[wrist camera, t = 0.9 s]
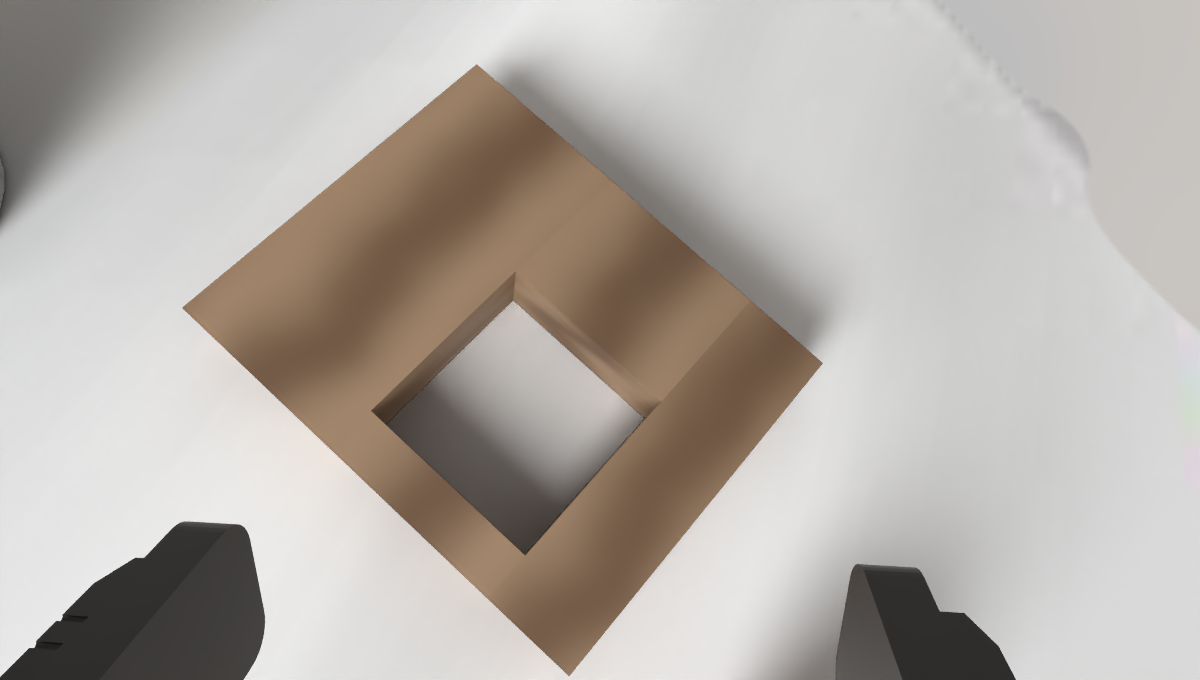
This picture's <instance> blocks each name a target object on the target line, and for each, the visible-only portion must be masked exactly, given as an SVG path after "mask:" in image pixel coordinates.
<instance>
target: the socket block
mask: <svg viewBox="0 0 1200 680" xmlns="http://www.w3.org/2000/svg"><path fill="white" fill-rule="evenodd" d="M512 301H515V302H516V303H517V304H518V305H519V306H520V307H521V308H522V309H524V310H525V311H526V312H527V313H528V314H529V315H530V316H531V317H532V318H534V319H535V320H536V321H537V322H538V323H539V324H540V325H541V326H542V327H544V328H545V329H546V330H547V331H548V332H549V333H550V334H551V335H552V336H554V337H555V338H556V339H557V340H558V341H559V342H560V343H561V344H562V345H564V346H565V347H566V348H567V349H568V350H569V351H570V352H571V353H573V354H574V355H575V356H576V357H577V358H578V359H579V360H580V361H581V362H583V363H584V364H585V365H586V366H587V367H588V368H589V369H590V370H591V371H593V372H594V373H595V374H596V375H597V376H598V377H599V378H600V379H601V380H603V381H604V382H605V383H606V384H607V385H608V386H609V387H610V388H611V389H613V390H614V391H615V392H616V393H617V394H618V395H619V396H620V397H622V398H623V399H624V400H625V401H626V402H627V403H628V404H629V405H630V406H632V407H633V408H634V409H635V410H636V411H637V412H638V413H639V414H640V415H642V416H643V417H644V418H645V419H644V420H643V421H642V422H641V423H640V424H639V426H638V427H637V428H636V429H635V430H634V431H633V432H632V433H631V435H630V436H629V437H628V438H627V439H626V440H625V441H624V442H623V444H622V445H621V446H620V447H619V448H618V449H617V450H616V452H615V453H614V454H613V455H612V456H611V457H610V458H609V459H608V461H607V462H606V463H605V464H604V465H603V466H602V467H601V469H600V470H599V471H598V472H597V473H596V474H595V475H594V476H593V478H592V479H591V480H590V481H589V482H588V483H587V484H586V486H585V487H584V488H583V489H582V490H581V491H580V492H579V493H578V495H577V496H576V497H575V498H574V499H573V500H572V501H571V502H570V504H569V505H568V506H567V507H566V508H565V509H564V510H563V512H562V513H561V514H560V515H559V516H558V517H557V518H556V519H555V521H554V522H553V523H552V524H551V525H550V526H549V527H548V529H547V530H546V531H545V532H544V533H543V534H542V535H541V536H540V538H539V539H538V540H537V541H536V542H535V543H534V544H533V545H532V547H531V548H530V549H529V550H528V551H527V552H526V553H525V555H524V554H523V553H522V552H521V551H520V550H519V549H518V548H517V547H515V546H514V545H513V544H512V543H511V542H510V541H509V540H508V539H507V538H506V537H505V536H504V535H503V534H502V533H501V532H499V531H498V530H497V529H496V528H495V527H494V526H493V525H492V524H491V523H490V522H489V521H488V520H487V519H486V518H485V517H483V516H482V515H481V514H480V513H479V512H478V511H477V510H476V509H475V508H474V507H473V506H472V505H471V504H470V503H469V502H468V501H466V500H465V499H464V498H463V497H462V496H461V495H460V494H459V493H458V492H457V491H456V490H455V489H454V488H453V487H452V486H450V485H449V484H448V483H447V482H446V481H445V480H444V479H443V478H442V477H441V476H440V475H439V474H438V473H437V472H436V471H434V470H433V469H432V468H431V467H430V466H429V465H428V464H427V463H426V462H425V461H424V460H423V459H422V458H421V457H420V456H419V455H417V454H416V453H415V452H414V451H413V450H412V449H411V448H410V447H409V446H408V445H407V444H406V443H405V442H404V441H403V440H401V439H400V438H399V437H398V436H397V435H396V434H395V433H394V432H393V431H392V430H391V429H390V428H389V427H388V426H387V425H386V424H387V423H388V422H389V421H390V420H391V419H392V418H393V417H394V416H395V415H396V414H397V413H398V412H399V411H400V410H401V409H402V408H403V407H404V406H405V405H406V404H407V403H408V402H409V401H410V400H411V399H412V398H413V397H414V396H415V395H416V394H418V393H419V392H420V391H421V390H422V389H423V388H424V387H425V386H426V385H427V384H428V383H429V382H430V381H431V380H432V379H433V378H434V377H435V376H436V375H437V374H438V373H439V372H440V371H441V370H442V369H443V368H444V367H445V366H446V365H447V364H448V363H449V362H450V361H451V360H452V359H453V358H454V357H455V356H456V355H457V354H458V353H459V352H460V351H461V350H462V349H464V348H465V347H466V346H467V345H468V344H469V343H470V342H471V341H472V340H473V339H474V338H475V337H476V336H477V335H478V334H479V333H480V332H481V331H482V330H483V329H484V328H485V327H486V326H487V325H488V324H489V323H490V322H491V321H492V320H493V319H494V318H495V317H496V316H497V315H498V314H499V313H500V312H501V311H502V310H503V309H504V308H505V307H506V306H507V305H508V304H509V303H511V302H512ZM183 309H184V310H185V311H186V312H187V313H188V314H189V315H190V316H191V317H192V318H193V319H194V320H195V321H196V322H198V323H199V324H200V325H201V326H202V327H203V328H204V329H205V330H206V331H207V332H208V333H209V334H210V335H211V336H212V337H213V338H214V339H215V340H216V341H217V342H219V343H220V344H221V345H222V346H223V347H224V348H225V349H226V350H227V351H228V352H229V353H230V354H231V355H232V356H233V357H234V358H235V359H236V360H237V361H239V362H240V363H241V364H242V365H243V366H244V367H245V368H246V369H247V370H248V371H249V372H250V373H251V374H252V375H253V376H254V377H255V378H256V379H257V380H258V381H260V382H261V383H262V384H263V385H264V386H265V387H266V388H267V389H268V390H269V391H270V392H271V393H272V394H273V395H274V396H275V397H276V398H277V399H278V400H279V401H281V402H282V403H283V404H284V405H285V406H286V407H287V408H288V409H289V410H290V411H291V412H292V413H293V414H294V415H295V416H296V417H297V418H298V419H299V420H300V421H302V422H303V423H304V424H305V425H306V426H307V427H308V428H309V429H310V430H311V431H312V432H313V433H314V434H315V435H316V436H317V437H318V438H319V439H320V440H321V441H323V442H324V443H325V444H326V445H327V446H328V447H329V448H330V449H331V450H332V451H333V452H334V453H335V454H336V455H337V456H338V457H339V458H340V459H341V460H343V461H344V462H345V463H346V464H347V465H348V466H349V467H350V468H351V469H352V470H353V471H354V472H355V473H356V474H357V475H358V476H359V477H360V478H361V479H362V480H364V481H365V482H366V483H367V484H368V485H369V486H370V487H371V488H372V489H373V490H374V491H375V492H376V493H377V494H378V495H379V496H380V497H381V498H382V499H383V500H385V501H386V502H387V503H388V504H389V505H390V506H391V507H392V508H393V509H394V510H395V511H396V512H397V513H398V514H399V515H400V516H401V517H402V518H403V519H404V520H406V521H407V522H408V523H409V524H410V525H411V526H412V527H413V528H414V529H415V530H416V531H417V532H418V533H419V534H420V535H421V536H422V537H423V538H424V539H425V540H427V541H428V542H429V543H430V544H431V545H432V546H433V547H434V548H435V549H436V550H437V551H438V552H439V553H440V554H441V555H442V556H443V557H444V558H445V559H446V560H448V561H449V562H450V563H451V564H452V565H453V566H454V567H455V568H456V569H457V570H458V571H459V572H460V573H461V574H462V575H463V576H464V577H465V578H466V579H468V580H469V581H470V582H471V583H472V584H473V585H474V586H475V587H476V588H477V589H478V590H479V591H480V592H481V593H482V594H483V595H484V596H485V597H486V598H487V599H489V600H490V601H491V602H492V603H493V604H494V605H495V606H496V607H497V608H498V609H499V610H500V611H501V612H502V613H503V614H504V615H505V616H506V617H507V618H508V619H510V620H511V621H512V622H513V623H514V624H515V625H516V626H517V627H518V628H519V629H520V630H521V631H522V632H523V633H524V634H525V635H526V636H527V637H528V638H529V639H531V640H532V641H533V642H534V643H535V644H536V645H537V646H538V647H539V648H540V649H541V650H542V651H543V652H544V653H545V654H546V655H547V656H548V657H549V658H550V659H552V660H553V661H554V662H555V663H556V664H557V665H558V666H559V667H560V668H561V669H562V670H563V671H564V672H565V673H566V674H567V675H568V676H570V675H571V673H572V672H573V671H574V670H575V668H576V667H577V666H578V665H579V663H580V662H581V661H582V660H583V658H584V657H585V656H586V655H587V654H588V652H589V651H590V650H591V649H592V647H593V646H594V645H595V644H596V642H597V641H598V640H599V639H600V637H601V636H602V635H603V634H604V633H605V631H606V630H607V629H608V628H609V626H610V625H611V624H612V623H613V621H614V620H615V619H616V618H617V617H618V615H619V614H620V613H621V612H622V610H623V609H624V608H625V607H626V605H627V604H628V603H629V602H630V600H631V599H632V598H633V597H634V596H635V594H636V593H637V592H638V591H639V589H640V588H641V587H642V586H643V584H644V583H645V582H646V581H647V579H648V578H649V577H650V576H651V575H652V573H653V572H654V571H655V570H656V568H657V567H658V566H659V565H660V563H661V562H662V561H663V560H664V559H665V557H666V556H667V555H668V554H669V552H670V551H671V550H672V549H673V547H674V546H675V545H676V544H677V542H678V541H679V540H680V539H681V538H682V536H683V535H684V534H685V533H686V531H687V530H688V529H689V528H690V526H691V525H692V524H693V523H694V521H695V520H696V519H697V518H698V517H699V515H700V514H701V513H702V512H703V510H704V509H705V508H706V507H707V505H708V504H709V503H710V502H711V501H712V499H713V498H714V497H715V496H716V494H717V493H718V492H719V491H720V489H721V488H722V487H723V486H724V484H725V483H726V482H727V481H728V480H729V478H730V477H731V476H732V475H733V473H734V472H735V471H736V470H737V468H738V467H739V466H740V465H741V463H742V462H743V461H744V460H745V459H746V457H747V456H748V455H749V454H750V452H751V451H752V450H753V449H754V447H755V446H756V445H757V444H758V443H759V441H760V440H761V439H762V438H763V436H764V435H765V434H766V433H767V431H768V430H769V429H770V428H771V426H772V425H773V424H774V423H775V422H776V420H777V419H778V418H779V417H780V415H781V414H782V413H783V412H784V410H785V409H786V408H787V407H788V405H789V404H790V403H791V402H792V401H793V399H794V398H795V397H796V396H797V394H798V393H799V392H800V391H801V389H802V388H803V387H804V386H805V385H806V383H807V382H808V381H809V380H810V378H811V377H812V376H813V375H814V373H815V372H816V371H817V370H818V368H819V367H820V366H821V365H822V364H823V363H822V362H821V361H820V360H819V359H817V358H816V357H815V356H814V355H813V354H812V353H810V352H809V351H808V350H807V349H806V348H805V347H804V346H802V345H801V344H800V343H799V342H798V341H797V340H795V339H794V338H793V337H792V336H791V335H790V334H788V333H787V332H786V331H785V330H784V329H783V328H782V327H780V326H779V325H778V324H777V323H776V322H775V321H773V320H772V319H771V318H770V317H769V316H768V315H766V314H765V313H764V312H763V311H762V310H761V309H760V308H758V307H757V306H756V305H755V304H754V303H753V302H751V301H750V300H749V299H748V298H747V297H746V296H744V295H743V294H742V293H741V292H740V291H739V290H738V289H736V288H735V287H734V286H733V285H732V284H731V283H729V282H728V281H727V280H726V279H725V278H724V277H722V276H721V275H720V274H719V273H718V272H717V271H716V270H714V269H713V268H712V267H711V266H710V265H709V264H707V263H706V262H705V261H704V260H703V259H702V258H700V257H699V256H698V255H697V254H696V253H695V252H694V251H692V250H691V249H690V248H689V247H688V246H687V245H685V244H684V243H683V242H682V241H681V240H680V239H678V238H677V237H676V236H675V235H674V234H673V233H672V232H670V231H669V230H668V229H667V228H666V227H665V226H663V225H662V224H661V223H660V222H659V221H658V220H656V219H655V218H654V217H653V216H652V215H651V214H650V213H648V212H647V211H646V210H645V209H644V208H643V207H641V206H640V205H639V204H638V203H637V202H636V201H634V200H633V199H632V198H631V197H630V196H629V195H628V194H626V193H625V192H624V191H623V190H622V189H621V188H619V187H618V186H617V185H616V184H615V183H614V182H612V181H611V180H610V179H609V178H608V177H607V176H605V175H604V174H603V173H602V172H601V171H600V170H599V169H597V168H596V167H595V166H594V165H593V164H592V163H590V162H589V161H588V160H587V159H586V158H585V157H583V156H582V155H581V154H580V153H579V152H578V151H577V150H575V149H574V148H573V147H572V146H571V145H570V144H568V143H567V142H566V141H565V140H564V139H563V138H561V137H560V136H559V135H558V134H557V133H556V132H555V131H553V130H552V129H551V128H550V127H549V126H548V125H546V124H545V123H544V122H543V121H542V120H541V119H539V118H538V117H537V116H536V115H535V114H534V113H533V112H531V111H530V110H529V109H528V108H527V107H526V106H524V105H523V104H522V103H521V102H520V101H519V100H517V99H516V98H515V97H514V96H513V95H512V94H511V93H509V92H508V91H507V90H506V89H505V88H504V87H502V86H501V85H500V84H499V83H498V82H497V81H495V80H494V79H493V78H492V77H491V76H490V75H489V74H487V73H486V72H485V71H484V70H483V69H482V68H480V67H479V66H478V65H475V66H474V67H473V68H472V69H471V70H469V71H468V72H467V73H466V74H465V75H463V76H462V77H461V78H460V79H459V80H457V81H456V82H455V83H454V84H452V85H451V86H450V87H449V88H448V89H446V90H445V91H444V92H443V93H442V94H440V95H439V96H438V97H437V98H436V99H434V100H433V101H432V102H431V103H429V104H428V105H427V106H426V107H425V108H423V109H422V110H421V111H420V112H419V113H417V114H416V115H415V116H414V117H413V118H411V119H410V120H409V121H408V122H406V123H405V124H404V125H403V126H402V127H400V128H399V129H398V130H397V131H396V132H394V133H393V134H392V135H391V136H390V137H388V138H387V139H386V140H385V141H383V142H382V143H381V144H380V145H379V146H377V147H376V148H375V149H374V150H373V151H371V152H370V153H369V154H368V155H367V156H365V157H364V158H363V159H362V160H360V161H359V162H358V163H357V164H356V165H354V166H353V167H352V168H351V169H350V170H348V171H347V172H346V173H345V174H344V175H342V176H341V177H340V178H339V179H337V180H336V181H335V182H334V183H333V184H331V185H330V186H329V187H328V188H327V189H325V190H324V191H323V192H322V193H321V194H319V195H318V196H317V197H316V198H314V199H313V200H312V201H311V202H310V203H308V204H307V205H306V206H305V207H304V208H302V209H301V210H300V211H299V212H298V213H296V214H295V215H294V216H293V217H291V218H290V219H289V220H288V221H287V222H285V223H284V224H283V225H282V226H281V227H279V228H278V229H277V230H276V231H275V232H273V233H272V234H271V235H270V236H268V237H267V238H266V239H265V240H264V241H262V242H261V243H260V244H259V245H258V246H256V247H255V248H254V249H253V250H252V251H250V252H249V253H248V254H247V255H245V256H244V257H243V258H242V259H241V260H239V261H238V262H237V263H236V264H235V265H233V266H232V267H231V268H230V269H229V270H227V271H226V272H225V273H224V274H222V275H221V276H220V277H219V278H218V279H216V280H215V281H214V282H213V283H212V284H210V285H209V286H208V287H207V288H206V289H204V290H203V291H202V292H201V293H199V294H198V295H197V296H196V297H195V298H193V299H192V300H191V301H190V302H189V303H187V304H186V305H185V306H184V307H183Z"/></svg>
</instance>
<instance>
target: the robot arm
mask: <svg viewBox="0 0 1200 680" xmlns="http://www.w3.org/2000/svg"><path fill="white" fill-rule="evenodd" d="M4 190H5V187H4V169H3V165H2V162H1V159H0V208H1V203H2V199H3V195H4ZM264 628H265V614H264V608H263V603H262V598H261V593H260V588H259V583H258V578H257V573H256V568H255V563H254V558H253V552H252V547H251V542H250V538H249V535H248V532H247V531H246V529H245V528H244V527H243V526H241V525H237V524H221V523H204V522H181V523H179V524H177V525H176V526H175V527H174V528H172V529H171V530H170V532H169V533H168V534H167V535H166V536H165V537H164V538H163V539H162V540H161V541H160V542H159V543H158V544H157V545H156V546H155V547H154V548H153V549H152V550H151V551H150V553H149V554H148V555H147V556H146V557H145V558H134V559H133V560H131V561H129V562H128V563H126V564H125V565H123V566H121V567H120V568H118V569H116V570H115V571H113V572H112V573H110V574H108V575H107V576H105V577H104V578H102V579H100V580H99V581H97V582H95V583H94V584H93V585H92V586H91V587H90V588H89V589H88V590H87V591H86V592H85V593H84V594H83V595H82V596H81V597H80V598H79V599H78V600H77V601H76V602H75V603H74V604H73V605H72V606H71V607H70V608H69V609H68V610H67V611H66V612H65V613H64V614H63V618H62V620H61V621H56V622H55V623H54V624H53V625H52V626H51V627H50V628H49V629H48V630H47V631H46V632H45V633H44V634H43V635H42V636H41V637H40V638H39V639H38V640H37V641H36V646H35V648H29V649H28V650H27V651H26V652H25V653H24V654H23V655H22V656H21V657H20V658H19V659H18V660H17V661H16V662H15V663H14V664H13V665H12V666H11V667H10V668H9V669H8V670H7V671H6V672H5V673H4V674H3V675H2V676H1V677H0V680H244V678H245V676H246V675H247V673H248V672H249V670H250V668H251V667H252V665H253V664H254V662H255V660H256V658H257V655H258V653H259V650H260V647H261V644H262V640H263V635H264ZM836 680H1016V679H1015V677H1014V675H1013V673H1012V671H1011V669H1010V667H1009V666H1008V664H1007V662H1006V660H1005V658H1004V656H1003V654H1002V652H1001V650H1000V648H999V646H998V645H997V644H996V643H994V642H993V641H992V640H991V639H990V638H989V637H988V636H987V635H986V634H985V633H984V632H983V631H982V630H981V629H980V628H979V627H978V626H977V625H976V624H975V623H974V622H973V621H972V620H971V619H970V618H969V617H968V616H967V615H966V614H965V613H953V612H940V611H939V609H938V607H937V605H936V603H935V600H934V598H933V596H932V594H931V592H930V589H929V587H928V585H927V583H926V581H925V578H924V576H923V575H922V573H921V572H920V570H919V569H917V568H912V567H896V566H879V565H863V564H857V565H855V566H854V568H853V570H852V573H851V576H850V582H849V587H848V593H847V599H846V604H845V610H844V616H843V622H842V627H841V633H840V639H839V644H838V650H837V657H836Z"/></svg>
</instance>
